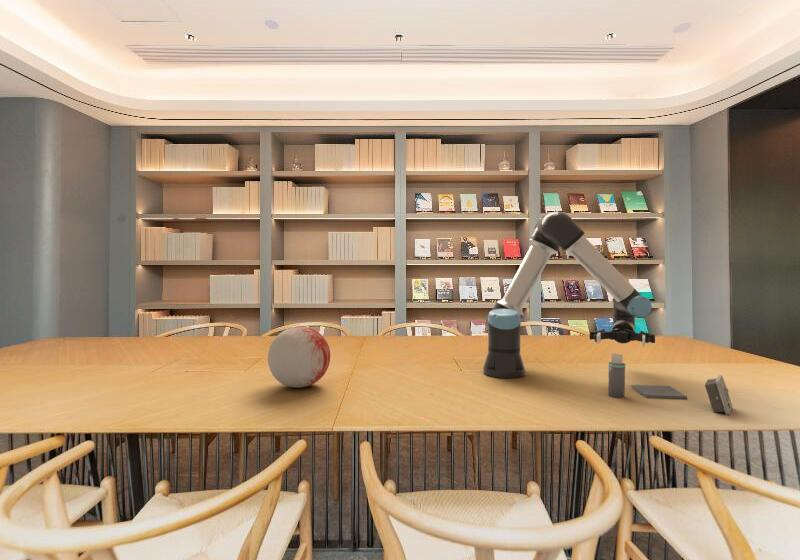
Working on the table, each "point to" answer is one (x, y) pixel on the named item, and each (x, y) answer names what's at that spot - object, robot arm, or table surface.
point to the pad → (658, 391)
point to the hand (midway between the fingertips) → (620, 340)
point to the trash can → (616, 376)
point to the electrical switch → (718, 395)
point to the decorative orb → (298, 357)
